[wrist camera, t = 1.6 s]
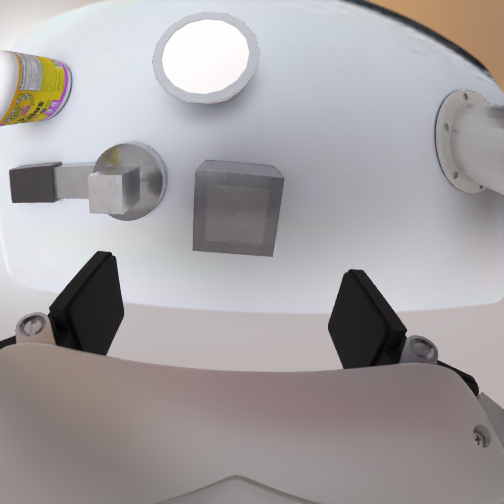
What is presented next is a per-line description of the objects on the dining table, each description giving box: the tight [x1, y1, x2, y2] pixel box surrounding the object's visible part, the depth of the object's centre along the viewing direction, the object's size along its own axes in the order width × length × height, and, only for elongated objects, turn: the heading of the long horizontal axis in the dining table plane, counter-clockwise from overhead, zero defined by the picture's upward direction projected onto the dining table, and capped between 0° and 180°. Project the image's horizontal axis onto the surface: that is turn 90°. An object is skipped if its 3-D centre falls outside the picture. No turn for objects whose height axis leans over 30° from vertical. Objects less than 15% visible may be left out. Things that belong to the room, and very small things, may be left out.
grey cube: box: [193, 160, 284, 257], centre depth 22 cm, size 6×6×6 cm
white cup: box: [152, 12, 260, 104], centre depth 17 cm, size 7×7×7 cm
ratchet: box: [9, 142, 167, 221], centre depth 20 cm, size 20×7×6 cm, turn 84°
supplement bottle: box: [0, 51, 71, 126], centre depth 12 cm, size 7×7×13 cm
